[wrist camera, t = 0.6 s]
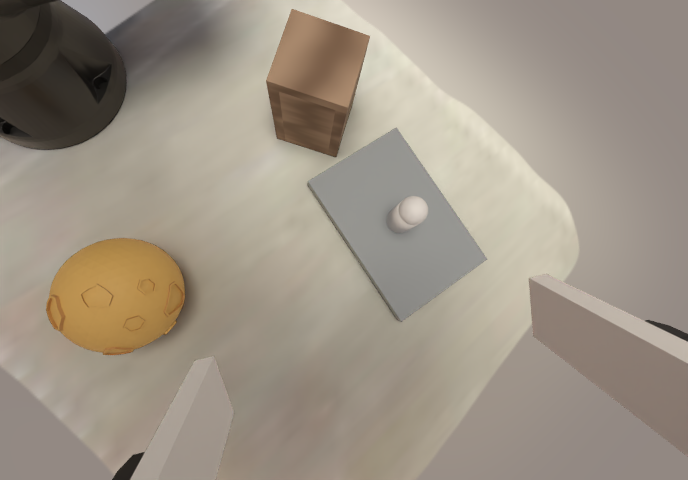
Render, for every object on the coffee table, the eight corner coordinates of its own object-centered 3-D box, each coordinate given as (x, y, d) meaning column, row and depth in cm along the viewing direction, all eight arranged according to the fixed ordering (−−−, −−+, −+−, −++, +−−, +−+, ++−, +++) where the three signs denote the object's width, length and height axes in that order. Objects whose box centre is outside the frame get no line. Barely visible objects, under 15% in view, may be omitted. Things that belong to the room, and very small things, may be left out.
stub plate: (307, 185, 38) (308, 159, 31) (393, 133, 40) (414, 96, 33) (397, 320, 37) (421, 329, 30) (480, 260, 39) (523, 253, 32)
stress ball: (75, 287, 34) (-18, 287, 24) (159, 226, 36) (104, 203, 26) (137, 364, 34) (68, 396, 24) (219, 299, 36) (185, 304, 26)
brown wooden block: (277, 138, 39) (266, 80, 28) (295, 84, 40) (291, 8, 29) (336, 157, 39) (347, 107, 28) (352, 103, 40) (370, 36, 29)
